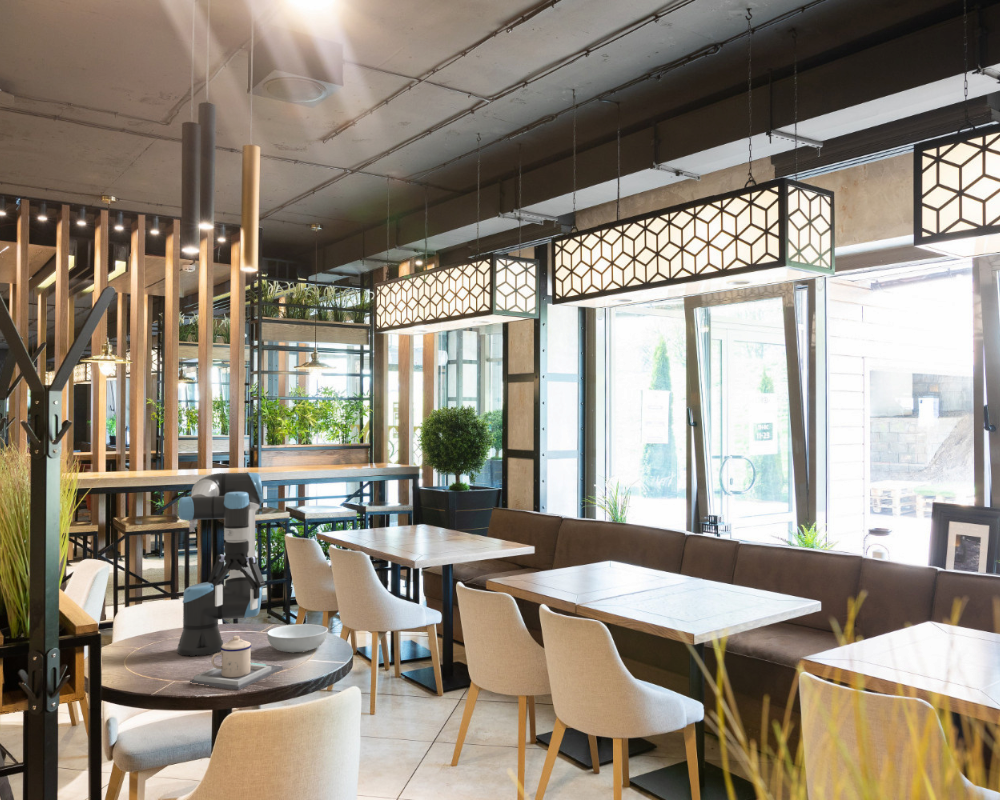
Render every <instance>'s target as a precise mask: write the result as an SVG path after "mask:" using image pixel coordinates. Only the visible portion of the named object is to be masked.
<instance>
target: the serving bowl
mask: <svg viewBox="0 0 1000 800" xmlns="http://www.w3.org/2000/svg"><path fill="white" fill-rule="evenodd" d="M328 633H329V628H328V627H327V626H323V625H321V624H311V623H310V624H308V623H307V624H306V623H303V624H301V623H299V624H287V625H281V626H277V627H274V628H271V629H269V630H268V631H267V632H266V635H267V636H266V637H267V640H268V642H269V644H270V646H271V647H272V648H274V649H275V650H277V651H281V652H285V653H288V652H302V653H304V652H303V651H306V652H309V651H311V650H314V649H316V648H319V647H320V646H322V645H323V643H324V642H325V640H326V639H327V636H328ZM308 650H309V651H308Z"/></svg>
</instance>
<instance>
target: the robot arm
mask: <svg viewBox="0 0 1000 800" xmlns="http://www.w3.org/2000/svg"><path fill="white" fill-rule="evenodd" d="M262 484H263V483H262V478H261V475H260V474H259V473H258V472H249V471H246V472H221V473H220V472H218V473H217V472H216V473H213V474H210V475H207V476H205V477H204V476H203V477H202V478H201V479H199V480H197V481H196V482H195V483H194V484H193V486H192V489H191V495H190V496H183V497H180V498H179V500H178V506H177V507H178V508H177V509H178V512H177V513H178V518H179V519H180V520H181V521H194V520H196V521H197V520H200V521H201V520H221V519H223V520H224V525H223V529H224V530H223V531H224V532H223V535H224V536H223V539H224V542H223V553H221V554H217V555H216V556H215V557H216V558H215V564H214V565H213V568H212V570H211V573H210V575H209V577H208V579H207V581H206V582H200V583H196V584H191V585H190V586H188V587H186V588H185V589H184V591H183V598H182V599H183V600H182V603H183V606H182V607H183V614H182V615H183V617H182V624H183V625H182V632H181V635H180V637H179V638H180V639H179V642H178V645H177V654H178V653H179V654H178V655H180V654H182V655H181V656H184V655H190V656H189V657H199V656H198V655H202V656H206V654H209V655H213V654H216V652H217V653H219V652H222V649H221V646H222V645H223V644H224V641H223V639H222V636H221V632H220V628H219V620H231V619H233V620H234V619H248V618H254V617H257V616H258V615H259V614H260V611H261V604H262V598H263V597H262V596H263V590H264V589H263V588H264V586H266V582H265V579H264V577H263V575H262V572H261V570H260V567H259V565H258V560H257V559H258V558H257V556H256V512H257V511H259V509H260V507H261V506H260V505H261V504H262V503H263V504H264V502H265V501H264V492H263V485H262ZM224 563H225V564H224ZM228 574H229V576H228V577H227V578H226V576H227V575H228ZM225 578H226V579H225ZM224 579H225V580H224ZM223 581H224V585H223V583H222V582H223ZM212 653H213V654H212ZM195 655H197V656H195Z"/></svg>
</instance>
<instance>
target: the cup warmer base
mask: <svg viewBox="0 0 1000 800" xmlns="http://www.w3.org/2000/svg"><path fill="white" fill-rule="evenodd" d="M219 666H222V664H220V665H219ZM281 669H282V670H283V666H282V665H275V664H273V665H272V664H266V663H255V662H250V673H249V674H248V675H245V676H242V677H236V678H228V677H224V676H222V669H216V668H215V667H212V668H210V669H208V670H205V671H203V672H201V673H198V674H196V675H193V679H190V681H189V683H190V682H192V683H198V684H204V685H209V686H208V687H210V686H215V687H214V688H218V687H219V689H229V690H235V691H240V690H241V689H244V688H246V687H248V686H250V685H252V684H254V683H257V682H259V681H261V680H263V679H265V678H268V677H269V676H271V674H272V675H273V673H274V674H276V673H278V672H280V671H282V670H281ZM279 670H280V671H279ZM277 671H278V672H277ZM275 672H276V673H275Z"/></svg>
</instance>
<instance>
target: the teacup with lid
mask: <svg viewBox="0 0 1000 800" xmlns="http://www.w3.org/2000/svg"><path fill="white" fill-rule="evenodd" d="M251 648H252V644H251V642H250V641H246V640H244V639H242V638H240V635H235V636H233V637H232V639H230V640H229V641H227V642H225V643H223V645H222V646H221V649H222V650H221V651H219V652H217V653H213V654H212V657H211V659H210V660H211V665H212V666H213V668H216V669H222V676H224V677H228V678H236V677H242V676H245V675H248V674H249V673H250V663H251V650H252V649H251ZM218 656H221V665H222V666H220V665H216V663H215V658H216V657H218Z"/></svg>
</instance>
